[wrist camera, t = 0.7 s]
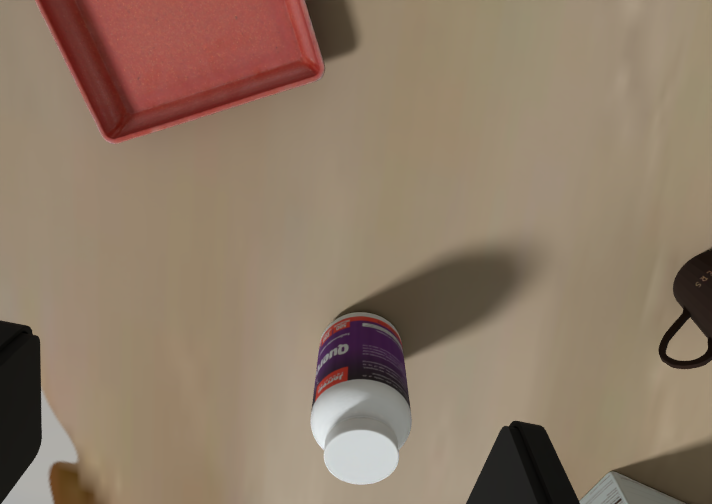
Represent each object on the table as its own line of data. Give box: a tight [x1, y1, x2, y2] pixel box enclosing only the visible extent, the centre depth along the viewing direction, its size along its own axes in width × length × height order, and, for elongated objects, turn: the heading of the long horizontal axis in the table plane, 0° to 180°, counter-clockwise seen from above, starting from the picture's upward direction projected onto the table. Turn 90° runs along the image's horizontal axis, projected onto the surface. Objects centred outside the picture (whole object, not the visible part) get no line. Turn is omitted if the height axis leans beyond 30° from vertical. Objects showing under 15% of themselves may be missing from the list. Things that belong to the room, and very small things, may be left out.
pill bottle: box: [311, 312, 412, 484], centre depth 43 cm, size 8×8×14 cm
